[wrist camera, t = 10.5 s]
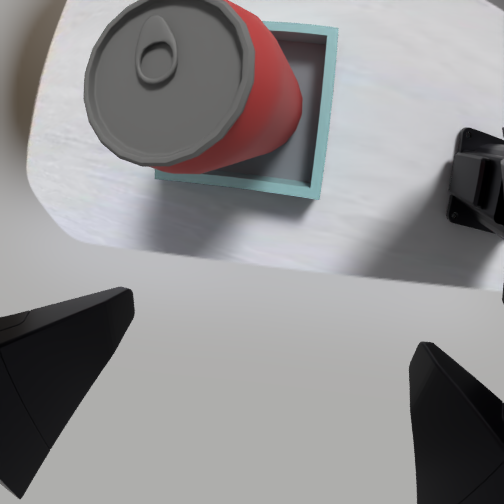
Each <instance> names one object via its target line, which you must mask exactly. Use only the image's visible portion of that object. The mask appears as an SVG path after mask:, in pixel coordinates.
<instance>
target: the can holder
mask: <svg viewBox="0 0 504 504" xmlns="http://www.w3.org/2000/svg"><path fill="white" fill-rule="evenodd" d="M262 22H263V24H264V25H265V26H266V27H267V28H268V29H269V31H270V32H271V33H272V34H273V35H274V37H275V38H276V40H277V42H278V44H279V46H280V48H281V50H282V51H283V53H284V55H285V57H286V59H287V61H288V63H289V65H290V67H291V69H292V71H293V73H294V75H295V77H296V79H297V82H298V85H299V88H300V91H301V94H302V97H303V101H302V116H301V118H300V121H299V124H298V126H297V129H296V131H295V132H294V133H293V134H292V136H291V137H290V138H289V139H288V140H287V142H286V143H285V144H283V145H282V146H280V147H278V148H277V149H275V150H274V151H272V152H270V153H267V154H264V155H260V156H257V157H254V158H250V159H247V160H244V161H241V162H238V163H235V164H232V165H229V166H225V167H222V168H218V169H215V170H212V171H209V172H205V173H202V174H172V173H167V172H163V171H160V170H157V169H155V179H160V180H170V181H180V182H190V183H199V184H208V185H216V186H225V187H233V188H241V189H248V190H256V191H263V192H270V193H277V194H284V195H290V196H297V197H303V198H310V199H316V200H319V199H320V192H321V185H322V178H323V171H324V164H325V157H326V149H327V141H328V133H329V125H330V116H331V107H332V97H333V88H334V77H335V66H336V55H337V42H338V28H335V27H327V26H319V25H310V24H300V23H287V22H269V21H262Z"/></svg>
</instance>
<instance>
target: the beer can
mask: <svg viewBox="0 0 504 504" xmlns="http://www.w3.org/2000/svg"><path fill="white" fill-rule="evenodd" d="M302 101H303V97H302V94H301V91H300V88H299V85H298V82H297V79H296V77H295V75H294V73H293V71H292V69H291V67H290V65H289V63H288V61H287V59H286V57H285V55H284V53H283V51H282V50H281V48H280V46H279V44H278V42H277V40H276V38H275V37H274V35H273V34H272V33H271V32H270V31H269V29H268V28H267V27H266V26H265V25H264V24H263V22H262V21H261V20H260V19H259V18H258V17H257V16H256V15H254V14H252V13H251V12H249V11H247V10H245V9H243V8H242V7H240V6H238V5H236V4H234V3H232V2H230V1H228V0H138V1H137V2H135V3H133V4H131V5H129V6H128V7H126V8H125V9H124V10H123V11H122V12H121V13H120V14H119V15H118V16H117V17H116V18H115V19H113V20H112V21H111V22H110V23H109V24H108V25H107V27H106V28H105V30H104V31H103V33H102V34H101V36H100V38H99V39H98V41H97V42H96V44H95V46H94V47H93V49H92V52H91V55H90V58H89V62H88V65H87V68H86V71H85V79H84V103H85V107H86V111H87V116H88V120H89V123H90V125H91V126H92V128H93V130H94V131H95V133H96V135H97V137H98V138H99V140H100V142H101V143H102V144H103V145H104V146H106V147H107V148H108V149H109V150H110V151H111V152H113V153H114V154H115V155H116V156H117V157H119V158H120V159H123V160H126V161H129V162H131V163H134V164H137V165H140V166H149V167H152V168H154V169H157V170H160V171H163V172H167V173H172V174H202V173H205V172H209V171H212V170H215V169H218V168H222V167H225V166H229V165H232V164H235V163H238V162H241V161H244V160H247V159H250V158H254V157H257V156H260V155H264V154H267V153H270V152H272V151H274V150H275V149H277V148H278V147H280V146H282V145H283V144H285V143H286V142H287V140H288V139H289V138H290V137H291V136H292V134H293V133H294V132H295V131H296V129H297V126H298V124H299V121H300V118H301V116H302Z"/></svg>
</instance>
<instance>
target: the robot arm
mask: <svg viewBox="0 0 504 504" xmlns="http://www.w3.org/2000/svg"><path fill="white" fill-rule="evenodd" d="M502 130H503V136H504V127H503V128H502ZM467 132H469V134H470V137H469V138H467V137H466V133H467ZM449 192H450V194H451V195H450V200H449V204H448V209H447V215H446V216H447V219H448V220H449V221H450V222H452V223H455V224H459V225H464V226H468V227H472V228H476V229H480V230H484V231H487V232H491V233H495V234H497V235H499V236H500V237H502V238H503V239H504V140H502V139H499V138H496V137H494V136H491V135H489V134H486V133H483V132H480V131H478V130H475V129H472V128H463V129H462V130H461V133H460V141H459V149H458V153H457V154H455V157H454V164H453V170H452V175H451V181H450V186H449ZM454 212H455V213H456V216H455V217H454V218H452V213H454ZM502 301H503V303H504V285H503V298H502ZM134 311H135V310H134V300H133V292H132V290H131V289H128V288H124V287H117V288H113V289H109V290H105V291H101V292H98V293H94V294H90V295H86V296H82V297H79V298H75V299H71V300H67V301H63V302H60V303H56V304H52V305H48V306H45V307H41V308H37V309H33V310H31V311H25V312H21V313H18V314H14V315H9V316H5V317H0V484H2V485H3V486H4V487H5V488H6V489H7V490H9V491H10V492H11V493H12V494H14V495H15V496H16V497H17V498H19V499H21V498H22V497H23V495H24V493H25V492H26V490H27V488H28V487H29V485H30V483H31V481H32V480H33V478H34V476H35V474H36V473H37V471H38V469H39V468H40V466H41V465H42V463H43V461H44V460H45V458H46V456H47V455H48V453H49V451H50V449H51V448H52V446H53V445H54V443H55V441H56V440H57V438H58V437H59V435H60V433H61V432H62V430H63V429H64V427H65V425H66V424H67V423H68V421H69V419H70V418H71V416H72V415H73V413H74V412H75V410H76V409H77V407H78V406H79V404H80V402H81V401H82V400H83V398H84V396H85V395H86V394H87V392H88V391H89V389H90V387H91V386H92V385H93V383H94V382H95V380H96V379H97V377H98V376H99V374H100V373H101V371H102V370H103V368H104V367H105V366H106V364H107V363H108V361H109V360H110V358H111V357H112V355H113V354H114V352H115V350H116V349H117V347H118V345H119V343H120V341H121V339H122V338H123V336H124V334H125V332H126V330H127V329H128V327H129V325H130V323H131V321H132V320H133V318H134V313H135V312H134ZM409 381H410V413H411V423H412V432H413V440H414V453H415V466H416V481H417V482H416V484H417V504H504V403H502V401H501V400H500V399H499V398H498V397H497V396H496V395H494V394H493V393H492V392H491V391H490V390H488V388H486V387H485V386H484V385H483V384H482V383H480V382H479V381H478V380H477V379H476V378H475V377H473V376H472V375H471V374H470V373H469V372H467V371H466V370H465V369H464V368H463V367H462V366H460V365H459V364H458V363H457V362H456V361H454V360H453V359H452V358H451V357H450V356H448V355H447V354H446V353H445V352H443V351H442V350H441V349H440V348H439V347H437V346H436V345H435V344H434V343H431V342H420V343H419V345H418V347H417V349H416V351H415V354H414V356H413V358H412V360H411V362H410V366H409Z"/></svg>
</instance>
